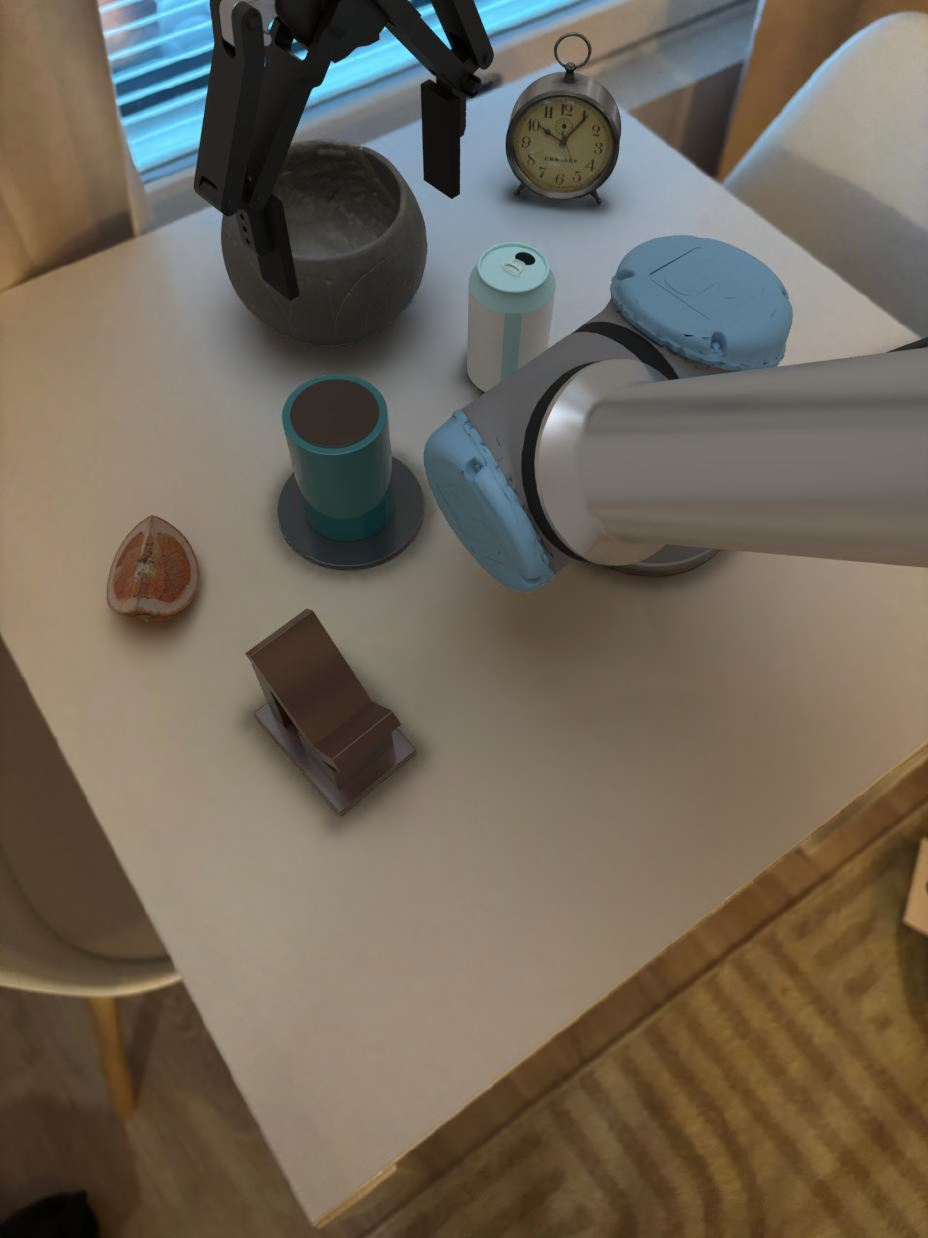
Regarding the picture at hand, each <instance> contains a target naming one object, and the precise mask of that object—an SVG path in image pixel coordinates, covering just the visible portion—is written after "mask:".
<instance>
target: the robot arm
mask: <svg viewBox="0 0 928 1238" xmlns="http://www.w3.org/2000/svg"><path fill="white" fill-rule="evenodd" d="M429 1H430V4H431V6H432V8H433V10H434V12H435V15H436V17H437V19H438V21H439V24H440V25H441V28H442V30H443V33H444V35H445V37H446V39H447V41H448V44H449V47H450V48H449V47H448V45H447V44H445V42H444V41H443V40H442V39H441V38H440V37H439V36H438V34H437V33H436V32H434V30H433V29H432V28H431V27H430V26H429V25H428V23H426V22H425V20H424V19H423V18H422V14H421V13H420V12H419V11H418V9H417V8H416V7H415V6H414V5H413V4H412V3H411V1H409V0H209V9H210V12H209V13H210V19H211V27H212V36H213V49H212V55H211V64H210V69H209V77H208V82H207V89H206V97H205V103H204V111H203V117H202V124H201V130H200V137H199V145H198V151H197V158H196V163H195V165H196V166H195V172H194V178H193V190H194V192H195V193H196V194H197V195H198V196H199V197H200V198H202V199H203V200H204V201H206V202H207V203H208V204H209V205H210V206H212V207H213V208H214V209H215V210H216V211H218V212H220V213H221V214H222V215H223V214H224V215H225V216H228V217H229V216H232V215H234V214H235V216H236V220H237V224H238V228H239V231H240V237H241V240H242V242H243V243H244V244H245V245H246V246H247V247H248V248H249V249H250V250H252V251H253V252H254V253H255V254H257V258H258V263H259V267H260V271H261V276H262V279H263V280H264V281H265V282H267V283H268V284H269V285H270V286H272V287H273V288H274V289H275V290H277V291H278V292H279V293H280V294H282V295H283V296H284V297H285V298H287V299H288V300H289V301H291V300H293V299H294V298H296V297H298V296H299V289H298V284H297V278H296V273H295V267H294V262H293V257H292V251H291V246H290V240H289V235H288V230H287V224H286V219H285V213H284V208H283V202H282V201H281V200H279V199H278V198H277V197H275V196H274V195H273V194H271V193H272V191H273V188H274V185H275V183H276V180H277V178H278V175H279V173H280V170H281V168H282V165H283V162H284V160H285V157H286V155H287V152H288V150H289V147H290V145H291V143H293V139H294V137H295V134H296V133H297V129H298V126H299V125H300V122H301V119H302V117H303V113H304V111H305V109H306V106H307V103H308V102H309V99H310V96H311V94H312V91H313V89H316V88H318V87H320V86H321V85H322V84H323V82H324V81H325V78H326V75H327V73H328V70H329V69H330V66H331V63H333V64H337V63H339V62H341V61H342V60H344V59H346V58H348V57H349V56H350V55H351V54H352V53H353V52H355V50H357V48H362V47H363V48H364V47H367V46H371V45H373V44H376V42H379V41H380V40H381V38H380V37H381V36H380V34H381V33H382V32H383V31H384V29H385V28H386V29H387V31H388V32H389V33H390V34H391V35H392V36H393V37H395V39H397V41H398V42H399V43H401V45H402V46H403V47H404V48H405V49H406V50H407V51H408V52H409V53H410V54H411V55H412V56H413V57H414V58H415V59H416V60H417V61H418V62H419V63H420V64H421V65H422V66H423V67H424V69H426V70H427V71H428V72H429V73H430V74H431V75H432V76H434V77H435V81H434V80H432V79H431V78H428V79H426V80H425V81H423V82H421V83H420V84H419V85H420V110H421V111H420V115H421V137H422V138H421V140H422V144H421V145H422V169H423V173H422V174H423V181H424V182H425V183H427V184H429V186H432V187H433V188H434V189H436V190H437V191H439V192H440V193H442V194H443V195H445V196H446V197H447V198H449V199H450V200H454V199H455V198H457V197H458V196H460V195H461V138H462V137H463V136H464V135H465V132H466V128H467V97H468V99H474V98H476V97H477V96H478V94H479V93H480V91H481V89H482V79H481V78H480V77H479V76H477V75H476V74H475V73H476V72H477V71H478V70H479V69H481V70H482V71H483V70H484V71H485V70H488V69H489V68H490V67H491V65H492V63H493V61H494V58H495V52H494V48H493V45H492V43H491V41H490V39H489V36H488V32H487V30H486V29H485V25H484V23H483V21H482V17H481V15H480V12H479V10H478V8H477V4H476V3H475V0H429ZM271 23H272V24H271ZM270 25H271V26H270ZM269 27H270V29H269ZM294 40H295V41H296V42H297V44H299V46H301V47H302V48H303V49H304V50H306V51H307V52H306V54H305V57H304V59H301V57H299V56H297V55H296V54H294V53H293V52H292V51H293V50H292V45H293V43H294ZM249 175H250V176H251V179H249ZM610 280H611V282H610V283H611V284H610V287H609V290H610V298H609V301H608V302H607V304H606V305H605V307H604V308H603V309H602V310H601V311H600V312H599V313H597V314H596V315H595V316H593V317H592V318H591V319H589V320H587V321H586V322H584V323H583V324H581V325H580V326H579V327H578V328H576V329H575V330H574V331H572V332H571V333H570V334H568V335H566V336H564V337H563V338H561V339H560V340H558V341H557V342H556V343H554V344H553V345H551V346H549V347H548V349H547V350H546V351H544V352H543V353H541V354H540V355H539V356H537V357H536V358H534V359H533V360H531V361H530V362H529V363H527V364H526V365H524V366H523V367H521V368H520V369H519V370H517V371H516V372H514V373H513V374H511V375H510V376H509V377H507V378H506V379H504V380H503V381H501V382H500V383H499V384H497V385H496V386H494V387H493V388H491V389H490V390H489V391H487V392H484V393H483V394H481V395H480V396H479V397H477V398H476V399H474V400H473V401H471V402H470V403H469V404H467V405H466V406H465V407H463V408H461V409H459V408H457V409H455V410H454V411H453V412H452V414H451V417H450V418H449V419H447V420H446V421H445V422H443V424H441V425H440V426H439V427H438V428H437V429H435V430H434V431H433V432H432V433H431V434H430V435H429V436H428V438H427V440H426V442H425V444H424V448H423V466H424V471H425V476H426V481H427V483H428V486H429V488H430V491H431V493H432V496H433V498H434V500H435V502H436V504H437V507H438V508H439V511H440V512H441V514H442V517H444V519H445V520H446V522H447V524H448V525H449V527H450V529H451V530H452V532H453V534H455V536H456V537H457V539H458V540H459V542H460V543H461V544H462V546H463V547H464V548H465V550H466V551H467V552H468V553H469V554H470V555H471V557H472V558H473V559H474V560H475V561H476V562H477V563H478V564H479V565H480V567H481V568H482V569H483V570H484V571H485V572H486V573H488V575H490V576H491V578H493V579H495V581H497V582H498V583H500V584H501V585H503V586H504V587H506V588H508V589H510V590H512V591H514V592H517V593H520V594H521V593H522V594H530V593H534V592H535V591H537V590H538V589H540V588H541V587H543V586H544V585H546V584H547V585H548V584H552V583H553V582H554V581H555V580H556V575H558V574H559V573H560V572H561V571H562V570H564V569H565V568H567V567H568V566H570V565H571V564H572V565H573V564H574V563H584V564H592V565H601V566H606V567H609V568H611V569H614V570H617V571H620V572H623V573H627V574H632V575H637V576H638V575H640V576H651V577H653V576H654V577H655V576H658V577H659V576H669V575H675V574H679V573H683V572H686V571H688V570H691V569H694V568H696V567H698V566H701V565H702V564H703V563H706V562H707V561H708V560H710V559H712V558H713V557H714V556H715V555H716V554H717V553H718V552H719V551H720V550H723V551H724V550H726V551H735V552H736V551H737V552H745V553H746V552H747V553H756V554H757V553H758V554H767V555H768V554H769V555H780V556H790V557H791V556H792V557H803V558H813V559H822V560H823V559H824V560H835V561H845V562H856V563H857V562H858V563H868V564H877V565H891V566H902V567H911V568H912V567H913V568H923V569H928V336H927V337H923V338H920V339H918V340H915V341H912V342H910V343H906V344H904V345H901V346H899V347H896V348H893V349H890V350H888V351H885V352H881V353H873V354H865V355H857V356H850V357H841V358H834V359H826V360H818V361H811V362H810V361H809V362H802V363H795V364H786V365H779V364H780V362H781V361H782V360H783V359H784V358H785V353H786V349H787V346H786V345H787V344H786V343H787V340H788V338H789V335H790V332H791V329H792V325H793V318H794V312H793V306H792V303H791V301H790V300H789V299H790V297H789V292H788V290H787V289H786V287H785V285H784V283H783V282H782V280H781V279H780V278H779V276H777V274H776V273H775V272H774V271H773V270H772V269H771V268H770V267H769V266H768V265H767V264H766V263H764V262H763V261H761V260H760V259H759V258H757V257H755V256H754V255H753V254H751V253H749V252H747V251H745V250H744V249H742V248H740V247H738V246H735V245H732V244H730V243H727V242H724V241H722V240H718V239H714V238H709V237H699V236H694V235H687V234H685V235H683V234H680V235H674V234H673V235H667V236H660V237H657V238H652V239H649V240H646V241H644V242H641V243H640V244H638V245H637V246H635V247H634V248H632V249H631V250H629V251H628V252H627V253H626V254H625V255H624V256H623V258H622V259H621V261H620V262H619V264H618V267H617V269H616V272H615V274H614V275H613V276H612V277H611V279H610Z"/></svg>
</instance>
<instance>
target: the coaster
mask: <svg viewBox="0 0 928 1238" xmlns="http://www.w3.org/2000/svg"><path fill="white" fill-rule="evenodd" d="M391 456H392V455H391ZM392 467H393V479H394V490H395V509H394V512H393V515H392V517H391V519H390V520H389V522H388V523H387V524H386V525H385V527H384V528H383V529H381V530H380V531H379V532H377V533H376V534H374V535H372V536H370V537H368V538H365V539H362V540H358V541H351V542H343V541H336V540H332V539H329V538H326V537H324V536H322V535H320V534H319V533H317V532H316V531H315V530H314V529H312V527H311V526H310V525H309V524H308V522H307V521H306V518H305V516H304V513H303V509H302V504H301V500H300V496H299V492H298V487H297V483H296V479H295V475H294V471H293V472H292V473H291V474H290V475H289V477H287V479H286V481H285V483H284V484H283V486H282V489H281V491H280V493H279V497H278V501H277V509H276V510H277V520H278V523H279V528H280V530H281V533H282V535H283V536H284V538H285V541H286V542H287V543H288V545H290V547H291V548H292V549H293V550H294V551H295V552H296V553H297V554H298V555H300V556H301V557H302V558H304V559H306V560H307V561H309V562H310V563H313V564H315V565H318V566H321V567H324V568H328V569H333V570H341V571H356V570H363V569H367V568H372V567H375V566H378V565H381V564H384V563H385V562H387V561H389V560H391V559H393V558H395V557H397V555H399V554H400V553H401V552H403V551H404V550H405V549H406V548H408V546H409V545H410V544H411V543H412V541H413V540H414V539H415V537H416V536H417V534H418V532H419V531H420V528H421V525H422V523H423V520H424V513H425V500H424V493H423V490H422V487H421V485H420V482H419V480H418V479H417V477H416V476H415V474H414V472H413V471H412V470H411V469H410V468H409V467H408V466H407V465H406V464H404V463H403V462H402V461H401V460H400V459H397V458H396V457H394V455H393V456H392Z"/></svg>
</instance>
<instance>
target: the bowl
mask: <svg viewBox="0 0 928 1238" xmlns="http://www.w3.org/2000/svg"><path fill="white" fill-rule="evenodd" d="M249 179H251V176H250V175H249ZM271 194H273V195H274V196H275V197H277V198H278V199H279V200H281V201H282V202H283V208H284V213H285V219H286V224H287V230H288V235H289V240H290V246H291V251H292V257H293V262H294V267H295V273H296V278H297V284H298V289H299V296H298V297H296V298H294V299H293V300H291V301H289V300H288V299H287V298H285V297H284V296H283V295H282V294H280V293H279V292H278V291H277V290H275V289H274V288H273V287H272V286H270V285H269V284H268V283H267V282H265V281H264V280H263V279H262V276H261V271H260V267H259V263H258V258H257V254H255V253H254V252H253V251H252V250H250V249H249V248H248V247H247V246H246V245H245V244H244V243H243V242H242V240H241V237H240V231H239V228H238V224H237V220H236V216H235V214H234V215H232V216H229V217H228V216H225V215H224V214H222V218H221V226H220V246H221V254H222V258H223V259H222V260H223V263H224V267H225V270H226V273H227V276H228V278H229V281H230V284H231V287H233V289H234V292H235V293H236V295H237V297H238V298H239V299H240V300H241V302H242V304H243V305H244V306H245V308H246V309H247V310H248V311H249V312H250V313H251V314H252V315H253V316H254V317H255V318H256V319H257V320H258V321H260V322H261V323H262V324H264V325H265V326H266V327H268V328H269V329H271V330H272V331H273V332H276V333H277V334H278V335H281V336H283V337H285V338H287V339H290V340H293V341H295V342H298V343H302V344H306V345H311V346H318V347H338V346H345V345H351V344H354V343H359V342H361V341H363V340H367V339H368V338H371V337H373V336H374V335H376V334H379V333H380V332H381V331H383V330H384V329H386V328H387V327H389V326H390V325H391V324H392V323H394V322H395V320H397V318H399V316H401V314H402V313H403V312H404V311H405V310H406V309H407V307H408V306H409V305H410V304H411V303H412V301H413V299H414V297H415V295H416V294H417V292H418V290H419V289H420V286H421V283H422V280H423V277H424V273H425V270H426V263H427V256H428V239H427V228H426V222H425V219H424V215H423V213H422V210H421V207H420V205H419V202H418V200H417V198H416V196H415V194H414V192H413V190H412V188H411V187H410V186H409V184H408V182H407V181H406V179H405V178H404V176H403V175H402V174H401V172H400V171H399V170H398V169H397V167H396V166H395V165H394V163H392V162H391V161H390V160H389V159H388V158H387V157H386V156H384V155H382V154H381V153H379V152H378V151H376V150H373V148H370V147H367V146H365V145H364V146H361V145H360V144H359V143H355V142H350V141H345V140H338V139H334V138H316V139H308V140H299V141H295V142H291V145H290V147H289V150H288V152H287V155H286V157H285V160H284V162H283V165H282V168H281V170H280V173H279V175H278V178H277V180H276V183H275V185H274V188H273V191H272V193H271Z"/></svg>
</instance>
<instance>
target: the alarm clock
mask: <svg viewBox="0 0 928 1238" xmlns="http://www.w3.org/2000/svg"><path fill="white" fill-rule="evenodd" d="M569 37H570V38H571V37H577V38H580V39H581V40H582V41H584V43H585V44H586V46H587V56H586V57H585V59H584V61H582V62H581V63H579V64H577V65H576V64H575V63H574V62H572V61H568V62H567V63H564V62H563V61H561V60H560V58H559V56H558V48H559V45H560V44H561V42H563V40H565V39H566V38H569ZM553 55H554V59H555V61H557V63H558V64H559V65H560V66H561V67H562V68H564V70H565V71H556V72H552V73H551V72H550V73H548V74H545V75H542V76H541V77H539V78H537V79H536V80H534V81H533V82H531V83H530V84H528V86H526V87H525V89H524V90H523V91H522V92H521V94H520V95H518V98H517V100H516V102H515V103H514V105H513V108H512V111H511V114H510V118H509V123H508V127H507V131H506V135H505V145H504V146H505V147H504V148H505V155H506V159H507V163H508V165H509V168H510V169H511V171H512V173H513V175H514V177H515V178H516V179H517V180H518V181H519V183H520V184H519V185H518V187H517V188H516V189H514V190H513V195H514V196H515V197H519V196H520V194H521V192H522V191H524V190H525V189H527V190H528V191H530V192H532V193H533V194H535V195H537V196H539V197H541V198H544V199H549V200H553V201H572V200H577V199H581V198H584V197H586V196H588V195H590V196H591V197H592V198H593V199H594V200H595V204H596V205H597V206H601V205H602V203H603V200H602V198H601V197H600V196H599V193H598V191H597V190H598V189H600V187H602V186H603V185H604V184H605V183H606V182H607V181H608V179H609V178H610V177H611V176H612V173H613V172H614V170H615V168H616V165H617V162H618V160H619V154H620V144H621V137H622V118H621V113H620V109H619V106H618V104H617V102H616V100H615V98H614V97H613V95H612V94H611V93H610V91H609V90H608V89H607V88H606V87H605V86H604V85H603V84H602V83H601V82H600V81H598V80H596V78H593V77H591V76H589V75H587V74H583V73H580V72H578V71H577V72H576V70H577V69H581V68H583V67H584V66H586V64H587V63H588V62H589V60H590V58H591V55H592V44H591V42H590V40H589V39H588V37H586V36H585V35H584V34H583V33H580V32H576V31H571V32H566V33H564V34H562V35H561V36H560V37H559V38H558V39H557V40H556V41H555V43H554V46H553Z"/></svg>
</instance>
